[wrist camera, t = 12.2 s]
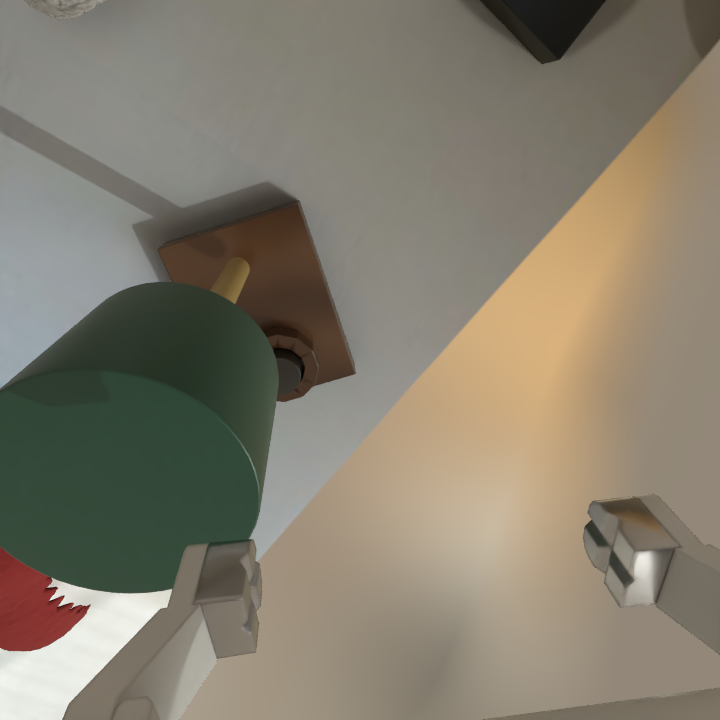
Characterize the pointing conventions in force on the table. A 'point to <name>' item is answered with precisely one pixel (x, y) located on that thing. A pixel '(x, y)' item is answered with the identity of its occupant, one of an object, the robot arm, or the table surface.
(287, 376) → the button
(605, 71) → the table surface
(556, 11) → the dimmer
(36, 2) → the seahorse
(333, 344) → the lamp base
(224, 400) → the lamp
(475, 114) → the table surface
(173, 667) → the robot arm
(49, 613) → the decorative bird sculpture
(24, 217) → the table surface
